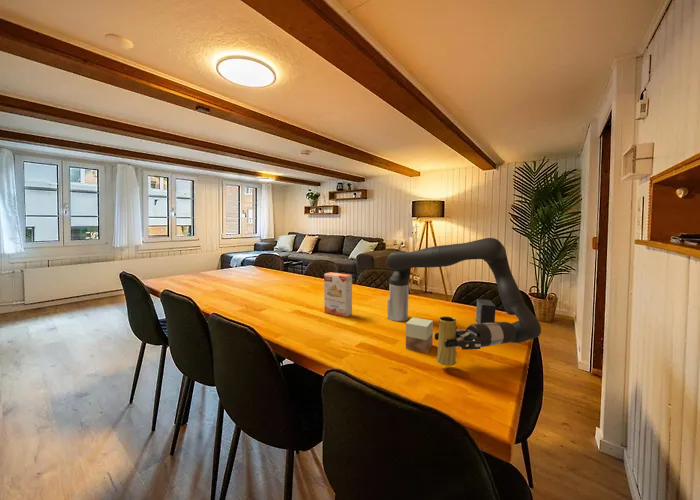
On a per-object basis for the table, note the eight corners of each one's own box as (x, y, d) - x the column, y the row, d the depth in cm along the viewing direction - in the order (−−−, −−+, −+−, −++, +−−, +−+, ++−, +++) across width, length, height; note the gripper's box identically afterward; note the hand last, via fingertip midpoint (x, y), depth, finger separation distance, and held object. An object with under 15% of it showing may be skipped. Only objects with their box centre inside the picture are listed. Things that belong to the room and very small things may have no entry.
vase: (433, 357, 102) (434, 316, 100) (451, 356, 102) (453, 315, 101) (440, 366, 96) (442, 322, 94) (459, 365, 96) (461, 321, 95)
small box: (495, 328, 136) (496, 305, 135) (480, 327, 138) (480, 304, 137) (489, 320, 147) (490, 299, 146) (475, 320, 148) (476, 298, 147)
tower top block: (405, 336, 115) (405, 323, 114) (412, 329, 122) (412, 317, 121) (426, 340, 111) (427, 326, 110) (432, 333, 118) (432, 320, 117)
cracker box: (323, 313, 160) (323, 273, 158) (331, 310, 165) (330, 271, 163) (345, 317, 152) (345, 276, 150) (352, 314, 157) (352, 274, 155)
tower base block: (405, 349, 115) (405, 336, 115) (412, 341, 122) (412, 329, 122) (426, 353, 111) (427, 340, 111) (432, 345, 118) (432, 333, 118)
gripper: (471, 317, 109) (428, 321, 104) (501, 331, 95) (453, 337, 90) (470, 337, 109) (428, 342, 105) (499, 354, 96) (452, 361, 91)
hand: (440, 340), depth 98 cm, fingers closed on vase, 5 cm apart
